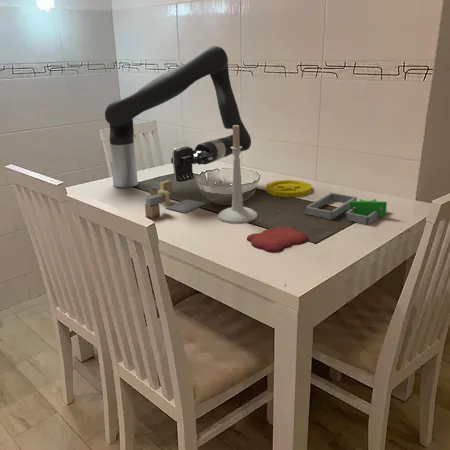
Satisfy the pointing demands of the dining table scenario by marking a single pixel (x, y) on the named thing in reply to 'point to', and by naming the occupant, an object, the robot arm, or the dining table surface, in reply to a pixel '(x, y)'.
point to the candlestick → (237, 190)
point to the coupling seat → (185, 206)
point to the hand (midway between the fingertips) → (178, 161)
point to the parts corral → (340, 209)
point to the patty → (277, 239)
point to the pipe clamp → (368, 207)
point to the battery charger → (180, 170)
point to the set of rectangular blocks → (158, 198)
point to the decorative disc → (288, 188)
